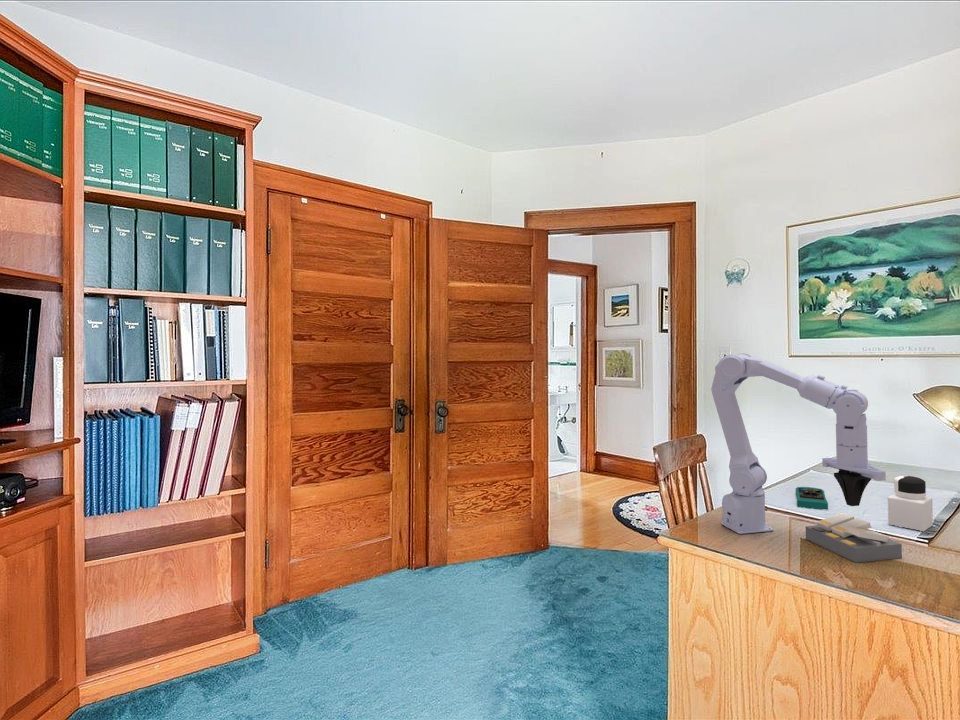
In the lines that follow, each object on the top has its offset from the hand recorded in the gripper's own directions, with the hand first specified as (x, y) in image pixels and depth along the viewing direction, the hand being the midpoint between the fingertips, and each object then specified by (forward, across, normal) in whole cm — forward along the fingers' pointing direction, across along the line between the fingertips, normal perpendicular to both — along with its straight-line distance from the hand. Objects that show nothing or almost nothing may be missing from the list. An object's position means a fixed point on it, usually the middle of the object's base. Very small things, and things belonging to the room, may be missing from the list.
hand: (852, 505), depth 118 cm
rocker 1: (+5, +4, 0) cm, 7 cm away
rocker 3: (+5, -4, 0) cm, 7 cm away
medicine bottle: (+10, +9, -25) cm, 28 cm away
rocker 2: (+5, 0, 0) cm, 5 cm away
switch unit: (+10, 0, 0) cm, 10 cm away
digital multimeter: (+10, +32, -17) cm, 38 cm away
